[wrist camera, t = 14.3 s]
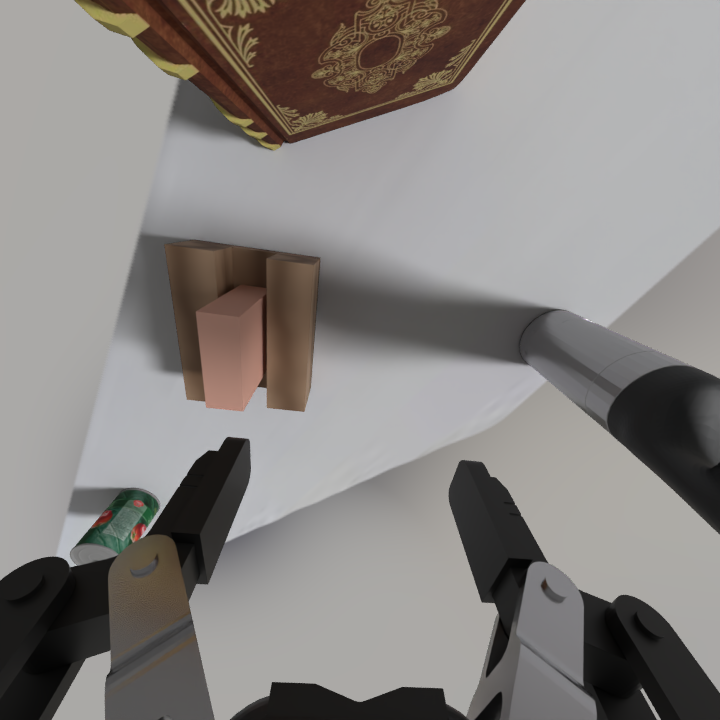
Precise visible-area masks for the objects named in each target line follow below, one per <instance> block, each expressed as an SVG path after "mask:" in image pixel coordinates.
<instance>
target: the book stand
mask: <svg viewBox="0 0 720 720" xmlns="http://www.w3.org/2000/svg"><path fill="white" fill-rule="evenodd" d="M164 246H165V253H166V259H167V266H168V273H169V280H170V287H171V294H172V301H173V307H174V314H175V321H176V328H177V335H178V342H179V349H180V355H181V362H182V369H183V376H184V383H185V390H186V397H187V400H196V401H205V392H204V383H203V374H202V365H201V355H200V346H199V337H198V327H197V318H196V311H197V310H199V309H201V308H202V307H204V306H206V305H207V304H209V303H211V302H213V301H214V300H216V299H218V298H219V297H221V296H223V295H224V294H226V293H228V292H229V291H231V290H233V289H234V288H236V287H238V286H239V285H247V286H255V287H262V288H267V371H266V373H265V374H264V376H263V378H262V379H261V381H260V383H259V385H258V386H257V387H263V388H267V408H273V409H283V410H293V411H302V412H304V411H305V407H306V404H307V400H308V396H309V392H310V388H311V377H312V364H313V350H314V337H315V323H316V310H317V297H318V283H319V270H320V258H319V257H312V256H304V255H297V254H290V253H283V252H276V251H269V250H262V249H255V248H248V247H241V246H234V245H227V244H220V243H213V242H206V241H199V240H190V241H183V242H177V243H170V244H164Z"/></svg>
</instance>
